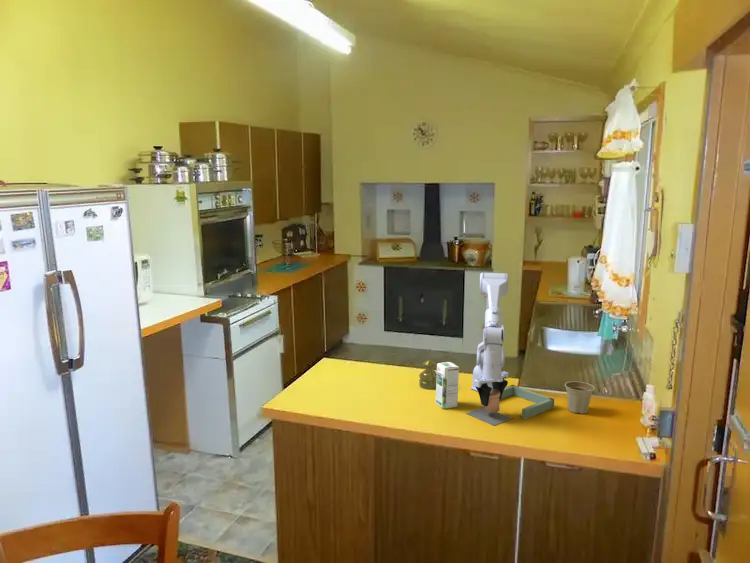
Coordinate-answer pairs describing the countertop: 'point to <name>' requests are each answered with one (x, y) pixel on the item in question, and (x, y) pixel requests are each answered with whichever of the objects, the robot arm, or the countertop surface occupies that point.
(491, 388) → the robot arm
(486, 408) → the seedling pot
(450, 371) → the syrup box
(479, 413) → the rubber mat
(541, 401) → the green u-shaped frame
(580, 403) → the flower pot
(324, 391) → the countertop surface
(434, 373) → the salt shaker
